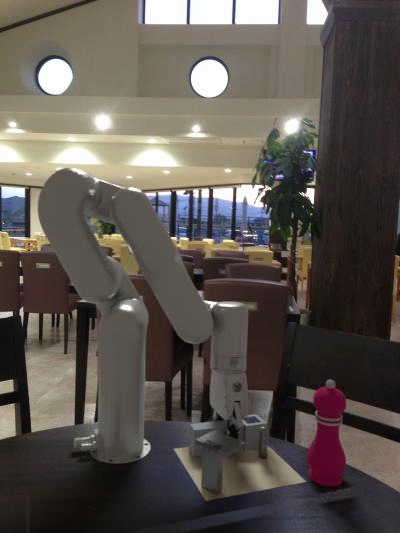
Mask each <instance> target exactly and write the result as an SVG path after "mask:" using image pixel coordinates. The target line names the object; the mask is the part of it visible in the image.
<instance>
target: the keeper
mask: <svg viewBox="0 0 400 533" xmlns="http://www.w3.org/2000/svg"><path fill="white" fill-rule="evenodd" d="M195 444H197V445H199V446H202V447H203V453H202V481H201V487H202V488H204V489H206V490H208V491H210V492H211V493H213V494H215V495H217V494H219V493H220V492H222V472H223V457H225V458H226V457H228V456H230V455H231V454H233V453H235V452H237V451H238V450H240V449H242V448H244V447H245V442H243V441H240V440H238V439H235V438H233V437H231V436H228V435H226V434H223V433H221V432H219V431H216V430H214V431H212V432H210V433H208V434H206V435H204V436H202V437H200V438H198V439H196V442H195Z"/></svg>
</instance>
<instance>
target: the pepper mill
mask: <svg viewBox="0 0 400 533" xmlns="http://www.w3.org/2000/svg"><path fill="white" fill-rule="evenodd" d="M312 402H313V403H312V404H313V406H314V408H315V409H316V411H315V412H314V415H315V416H314V420H315V422H316V424H317V425H316V426H317V427H316V433H315V436H314V437H313V440H312V441H311V443H310V445H309V447H308V450H307V453H306V463H307V465H308V467H309V469H308V473H307V475H308V478H309V479H310V480H312V481H313V482H314V483H316V484H319V485H321V486H324V487H325V486H326V487H327V486H328V487H336V486H339V485H341V484H342V483H343V479H344V478H343V475H342V473H344V472H345V470H346V468H347V458H346V453H345V452H344V451H345V450H344V447H343V445H342V444H341V439H340V425H342V424H343V412H344V411H345V410H346V408H347V399H346V395H345V394H344V393H343V392H342V391H341V390H340V389H338V388H336V382H335V380H332V379H327V381H326V382H325V386H322V387H320V388H318V389H317V390H316V391H315V392H314V395H313V399H312ZM339 490H340V488H339V489H334V490H330V491H328V492H329V493H330V492H331V493H332V492H338V491H339Z"/></svg>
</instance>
